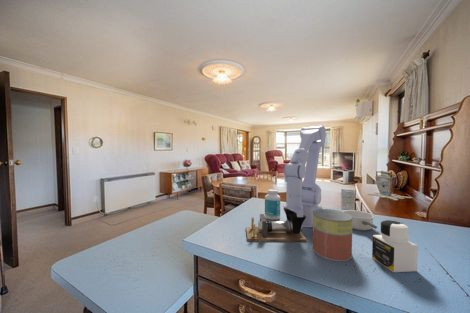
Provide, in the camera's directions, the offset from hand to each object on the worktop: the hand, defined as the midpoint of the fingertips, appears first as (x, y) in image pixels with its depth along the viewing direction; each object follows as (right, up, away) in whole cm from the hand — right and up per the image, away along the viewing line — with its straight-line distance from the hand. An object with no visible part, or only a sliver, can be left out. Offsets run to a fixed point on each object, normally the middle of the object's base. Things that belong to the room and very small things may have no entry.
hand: (293, 229), depth 73 cm
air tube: (-5, -2, 0) cm, 6 cm away
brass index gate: (-15, -2, 0) cm, 16 cm away
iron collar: (-12, -2, 0) cm, 12 cm away
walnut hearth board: (-7, -2, 0) cm, 8 cm away
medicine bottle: (+22, -3, -19) cm, 30 cm away
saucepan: (+30, -3, +5) cm, 30 cm away
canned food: (+8, -3, -12) cm, 15 cm away
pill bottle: (-4, -2, +19) cm, 20 cm away
